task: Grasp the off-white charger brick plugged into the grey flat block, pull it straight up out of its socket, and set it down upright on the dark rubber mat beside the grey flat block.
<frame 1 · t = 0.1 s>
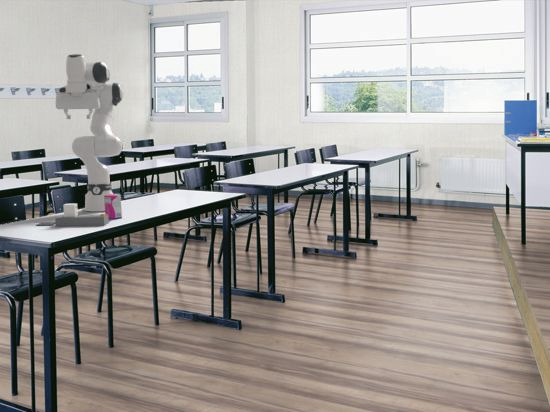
hand: (78, 118, 311), 48 cm above the table, fingers open, 8 cm apart
mat: (46, 224, 302), on the table
charger: (71, 219, 300), point 2 cm above the table, touching grey flat block
supplement box: (113, 218, 318), on the table
grey flat block: (82, 224, 300), on the table
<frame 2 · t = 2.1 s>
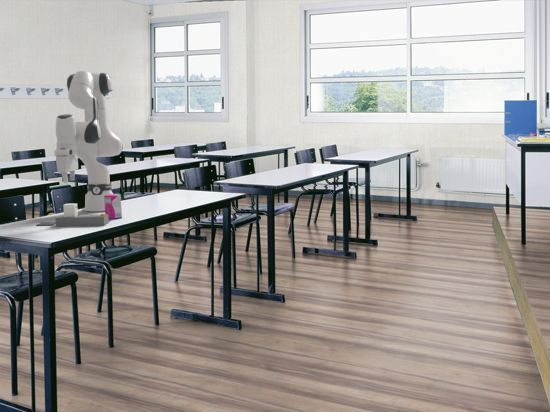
hand: (69, 181, 298), 20 cm above the table, fingers open, 8 cm apart
nothing on the table moved.
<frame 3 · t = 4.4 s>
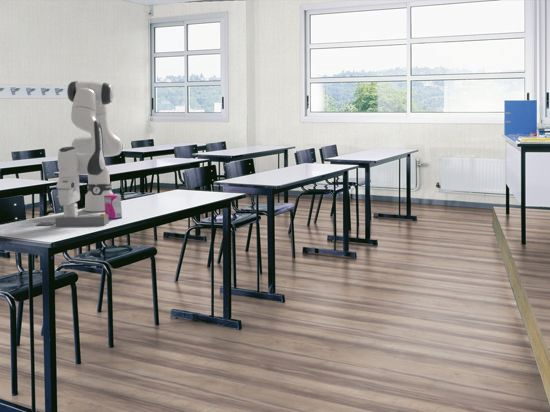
hand: (70, 213, 300), 5 cm above the table, fingers closed on charger, 4 cm apart
charger: (71, 219, 300), point 3 cm above the table, touching gripper, grey flat block
everything else where it was.
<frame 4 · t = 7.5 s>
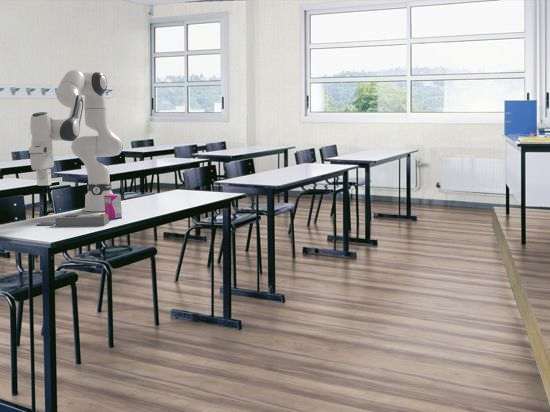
hand: (44, 178, 299), 21 cm above the table, fingers closed on charger, 4 cm apart
charger: (44, 185, 300), point 18 cm above the table, touching gripper
everything else where it was.
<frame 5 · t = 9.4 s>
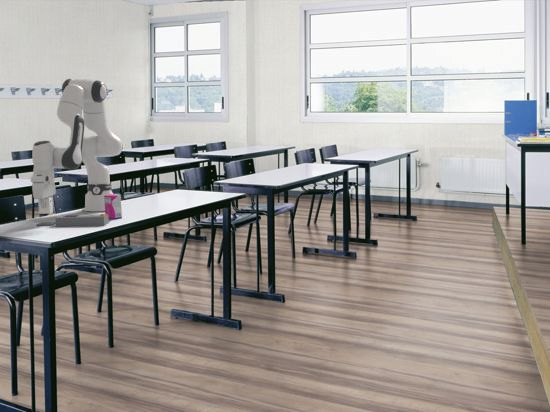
hand: (45, 207, 301), 8 cm above the table, fingers closed on charger, 4 cm apart
charger: (46, 213, 301), point 5 cm above the table, touching gripper
everything else where it was.
when the fingers open (5 cm above the table, at t = 10.8 s): charger drops 1 cm, resting on mat.
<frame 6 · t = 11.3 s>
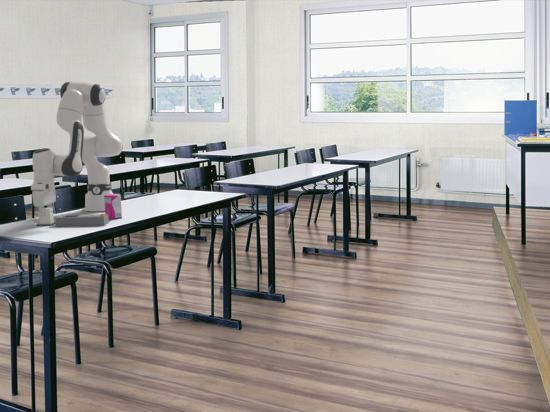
hand: (46, 214, 302), 5 cm above the table, fingers open, 8 cm apart
charger: (46, 223, 302), resting on mat
everything else where it was.
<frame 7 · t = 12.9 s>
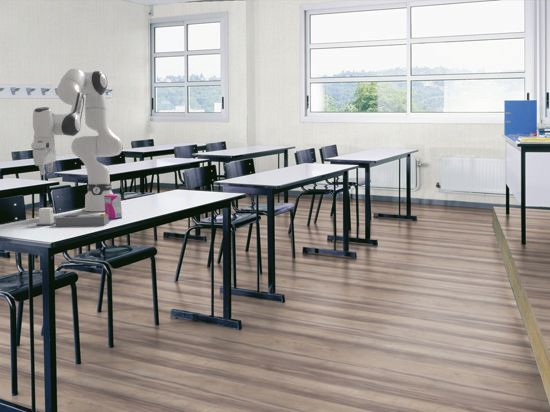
hand: (46, 173, 303), 23 cm above the table, fingers open, 8 cm apart
nothing on the table moved.
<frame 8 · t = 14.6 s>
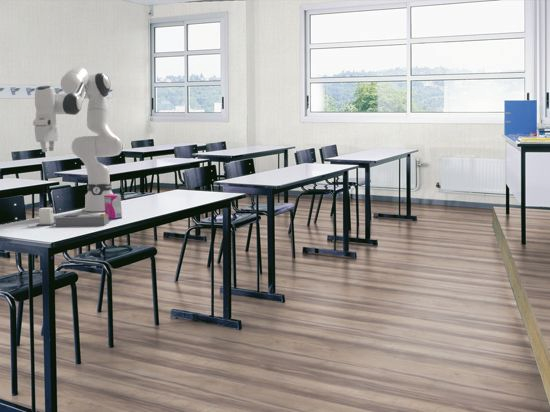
hand: (48, 151, 306), 33 cm above the table, fingers open, 8 cm apart
nothing on the table moved.
at the end: charger inside the target area on the mat (0.1 cm from its centre), point 0.5 cm above the mat's base; charger tilted 0°; charger touching mat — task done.
